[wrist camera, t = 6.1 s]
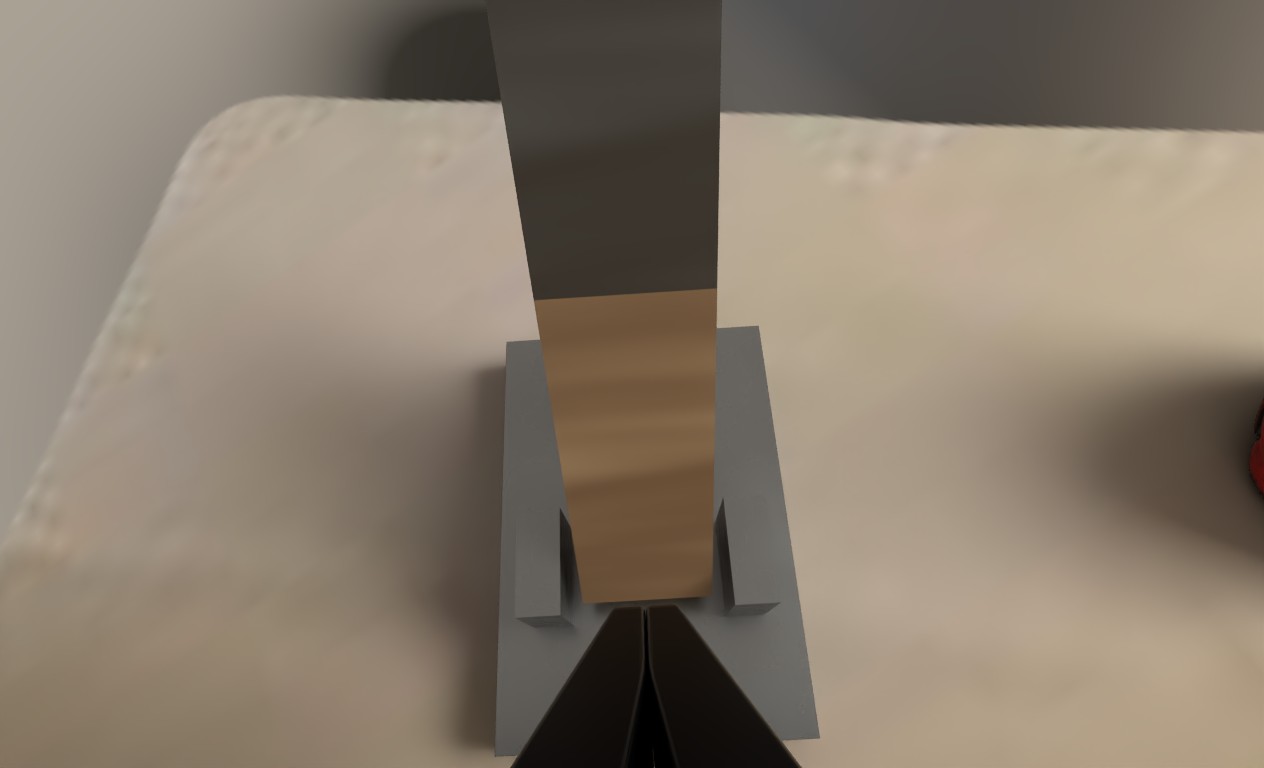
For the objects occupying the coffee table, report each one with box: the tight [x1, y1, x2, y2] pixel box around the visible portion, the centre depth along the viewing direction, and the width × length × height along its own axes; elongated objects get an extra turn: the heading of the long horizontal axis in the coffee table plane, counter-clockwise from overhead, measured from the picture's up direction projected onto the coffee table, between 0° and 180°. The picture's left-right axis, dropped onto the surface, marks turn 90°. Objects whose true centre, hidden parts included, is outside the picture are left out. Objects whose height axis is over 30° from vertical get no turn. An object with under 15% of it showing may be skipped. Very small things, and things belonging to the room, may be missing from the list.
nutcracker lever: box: [485, 0, 722, 604], centre depth 13 cm, size 2×3×14 cm, turn 93°
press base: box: [495, 326, 820, 757], centre depth 17 cm, size 11×8×5 cm
